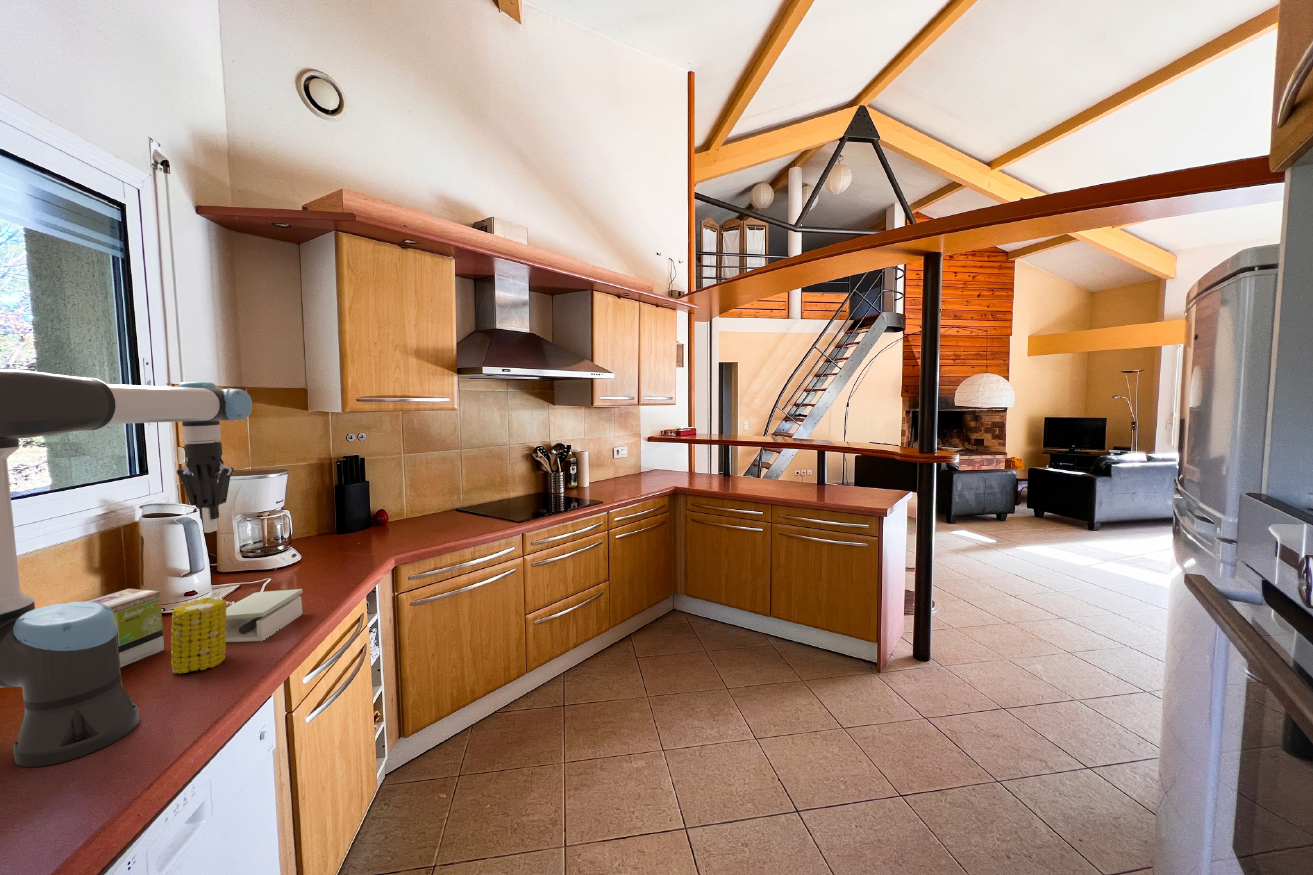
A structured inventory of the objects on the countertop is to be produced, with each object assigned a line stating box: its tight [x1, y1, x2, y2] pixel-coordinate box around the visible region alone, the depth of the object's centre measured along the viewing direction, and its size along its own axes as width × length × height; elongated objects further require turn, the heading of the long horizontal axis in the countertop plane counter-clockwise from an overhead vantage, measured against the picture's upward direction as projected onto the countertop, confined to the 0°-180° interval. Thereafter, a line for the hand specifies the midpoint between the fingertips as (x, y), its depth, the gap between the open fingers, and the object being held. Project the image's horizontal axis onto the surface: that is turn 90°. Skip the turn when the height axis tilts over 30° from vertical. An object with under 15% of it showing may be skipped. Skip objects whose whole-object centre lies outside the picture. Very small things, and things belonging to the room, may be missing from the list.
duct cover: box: [226, 588, 303, 620], centre depth 141 cm, size 16×12×1 cm
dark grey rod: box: [239, 609, 276, 634], centre depth 142 cm, size 13×2×2 cm, turn 2°
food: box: [170, 597, 227, 675], centre depth 122 cm, size 15×12×10 cm
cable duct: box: [225, 595, 303, 643], centre depth 141 cm, size 16×12×5 cm
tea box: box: [85, 588, 165, 669], centre depth 123 cm, size 15×10×15 cm
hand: (210, 531), depth 143 cm, fingers closed
